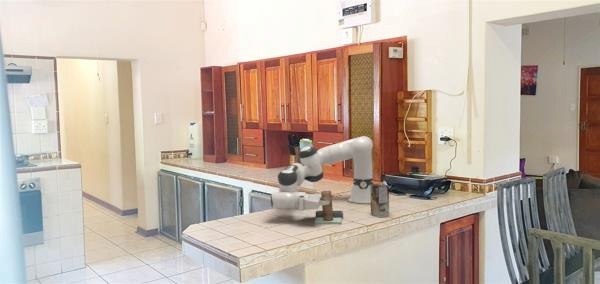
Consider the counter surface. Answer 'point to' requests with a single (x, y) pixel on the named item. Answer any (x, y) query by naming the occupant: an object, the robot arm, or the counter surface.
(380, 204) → the coffee box
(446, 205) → the counter surface
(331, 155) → the robot arm
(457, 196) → the counter surface
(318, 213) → the pit tray
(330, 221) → the board
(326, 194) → the walnut column
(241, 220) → the counter surface
